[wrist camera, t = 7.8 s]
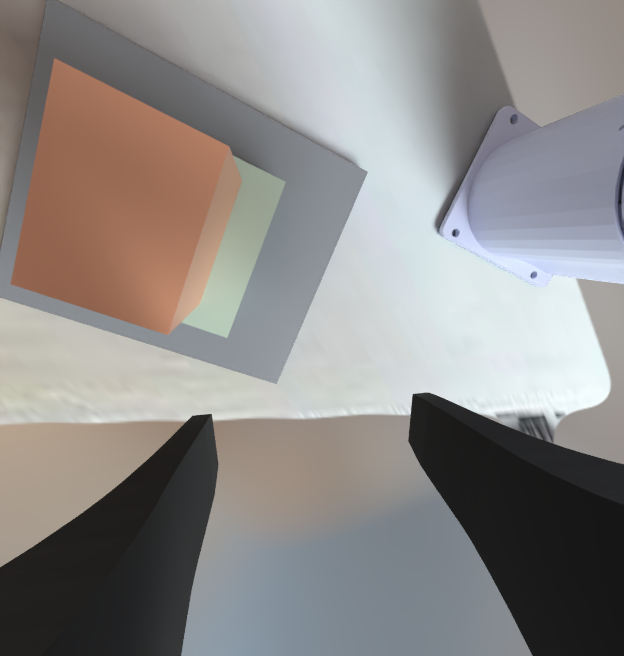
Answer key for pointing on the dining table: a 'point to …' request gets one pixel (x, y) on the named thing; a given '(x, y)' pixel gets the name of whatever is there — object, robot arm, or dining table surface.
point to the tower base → (247, 142)
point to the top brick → (122, 205)
